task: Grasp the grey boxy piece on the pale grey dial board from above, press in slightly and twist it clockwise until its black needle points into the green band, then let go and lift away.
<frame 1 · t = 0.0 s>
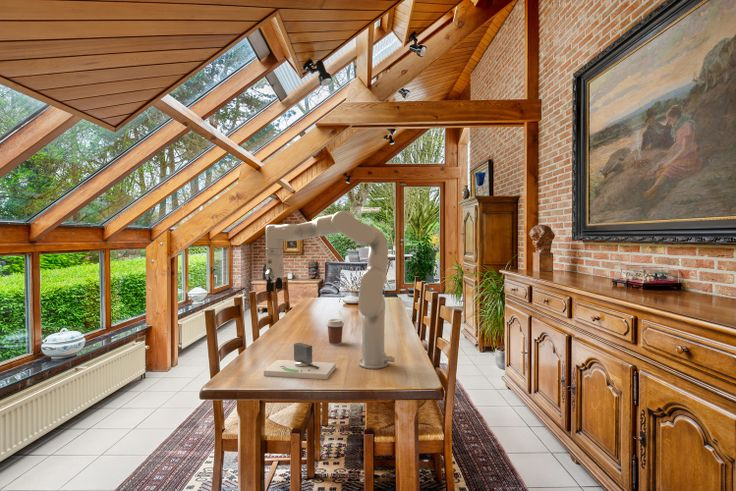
hand: (274, 290, 182), 31 cm above the table, tool pointing down, fingers open, 9 cm apart
grey boxy piece: (307, 355, 167), point 6 cm above the table, hinge at 150.0°
dial board: (300, 371, 166), on the table
coffee cup: (335, 343, 209), on the table
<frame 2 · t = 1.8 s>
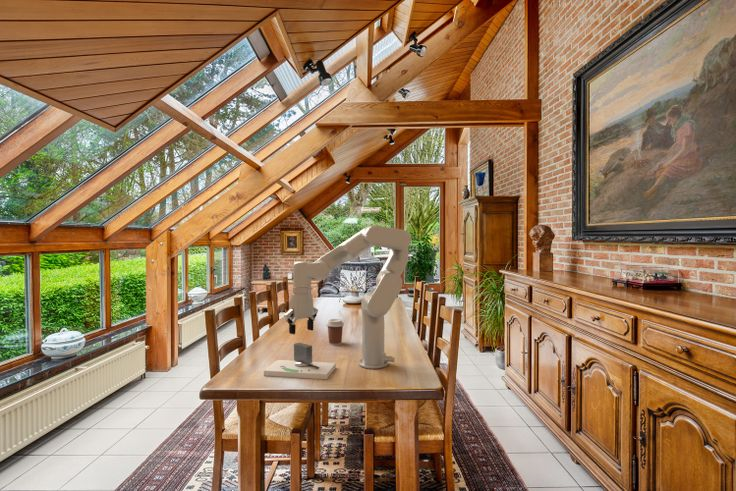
hand: (301, 331, 169), 16 cm above the table, tool pointing down, fingers open, 9 cm apart
nothing on the table moved.
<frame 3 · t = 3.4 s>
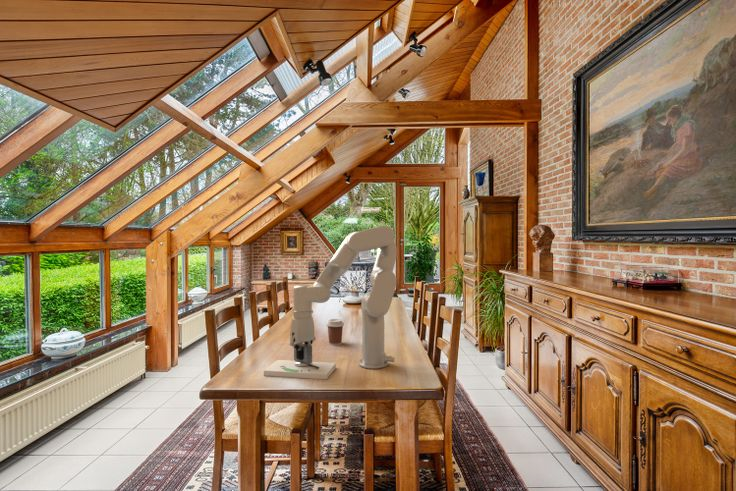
hand: (303, 357, 169), 5 cm above the table, tool pointing down, fingers closed on grey boxy piece, 3 cm apart
grey boxy piece: (307, 355, 167), point 6 cm above the table, hinge at 150.0°, touching gripper
everything else where it was.
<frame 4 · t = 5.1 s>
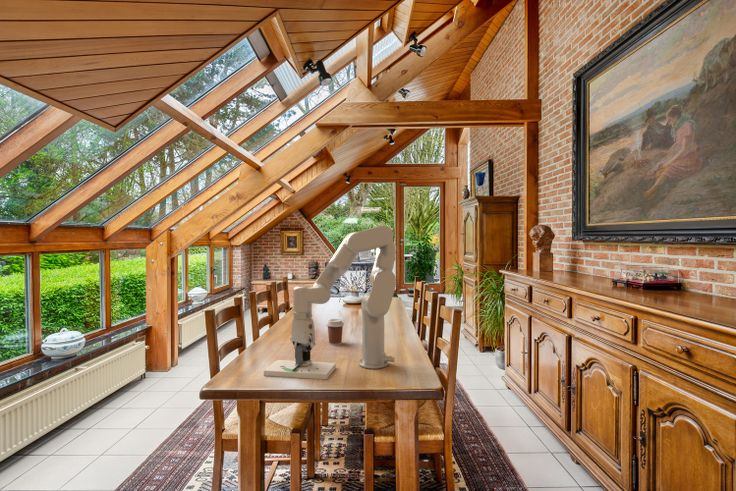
hand: (302, 358, 169), 4 cm above the table, tool pointing down, fingers closed on grey boxy piece, 4 cm apart
grey boxy piece: (300, 356, 167), point 6 cm above the table, hinge at 85.5°, touching gripper
everything else where it was.
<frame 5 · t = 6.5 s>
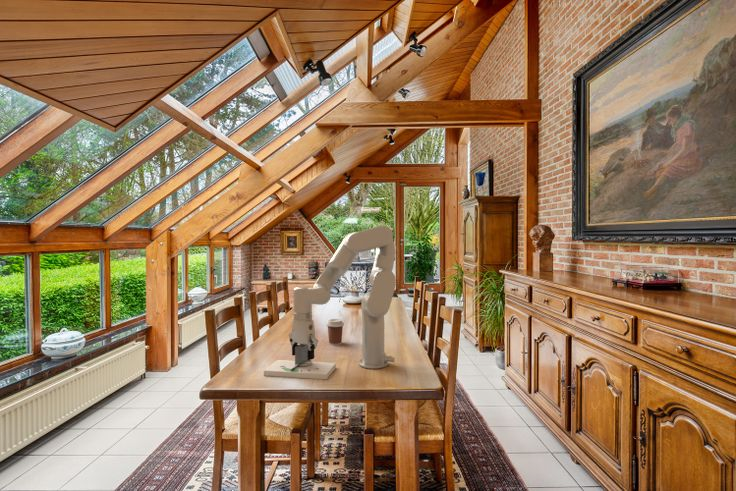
hand: (303, 356, 169), 5 cm above the table, tool pointing down, fingers open, 9 cm apart
grey boxy piece: (299, 356, 167), point 6 cm above the table, hinge at 81.0°
everything else where it was.
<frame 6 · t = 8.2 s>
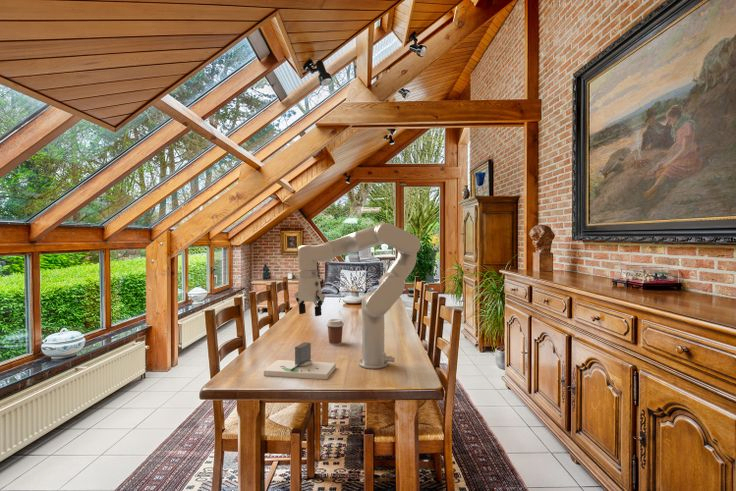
hand: (310, 314, 171), 22 cm above the table, tool pointing down, fingers open, 9 cm apart
nothing on the table moved.
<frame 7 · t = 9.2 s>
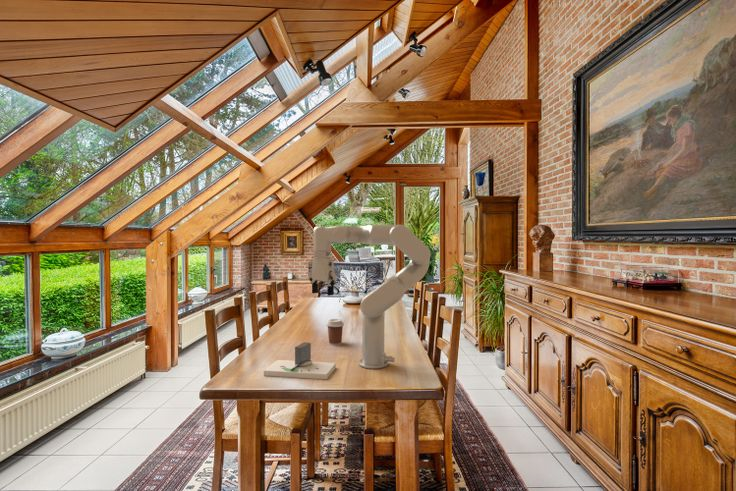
hand: (322, 294, 176), 30 cm above the table, tool pointing down, fingers open, 9 cm apart
nothing on the table moved.
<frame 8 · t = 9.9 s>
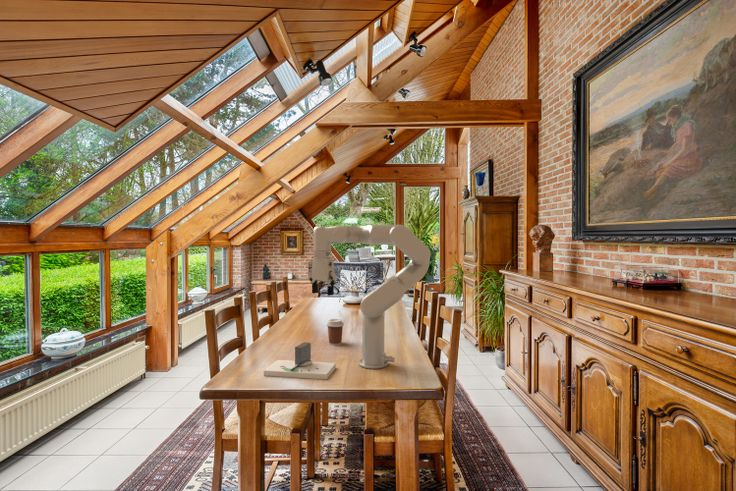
hand: (322, 294, 176), 30 cm above the table, tool pointing down, fingers open, 9 cm apart
nothing on the table moved.
at the end: grey boxy piece at +81° (first picture: +150°); the gripper is holding nothing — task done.
